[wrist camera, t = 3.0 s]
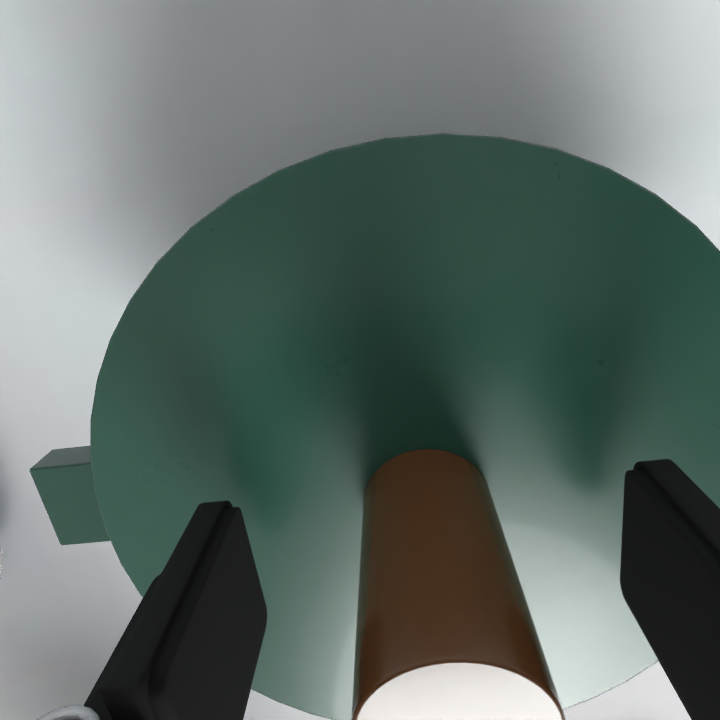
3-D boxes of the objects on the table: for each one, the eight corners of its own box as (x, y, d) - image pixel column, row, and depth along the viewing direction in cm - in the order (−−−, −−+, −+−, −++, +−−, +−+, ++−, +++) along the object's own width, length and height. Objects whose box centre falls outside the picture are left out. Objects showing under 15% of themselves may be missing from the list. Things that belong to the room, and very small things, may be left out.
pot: (94, 206, 17) (-102, 235, 10) (707, 116, 16) (972, 76, 9) (198, 547, 22) (114, 723, 15) (672, 505, 20) (824, 682, 13)
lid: (18, 196, 10) (-414, 233, 5) (802, 77, 9) (1490, -67, 3) (199, 708, 16) (94, 1019, 10) (716, 677, 14) (937, 1014, 9)
